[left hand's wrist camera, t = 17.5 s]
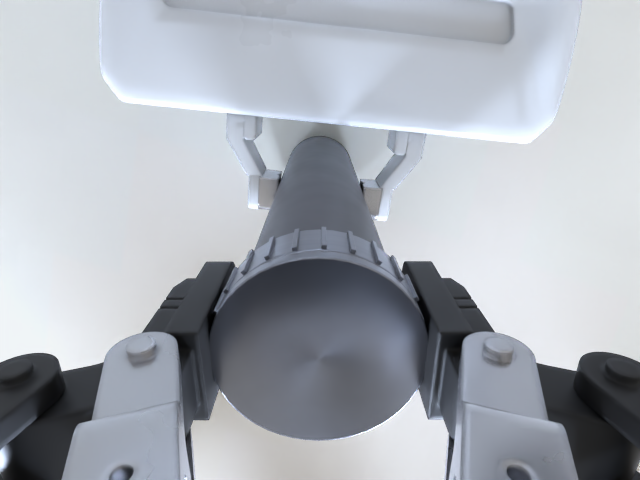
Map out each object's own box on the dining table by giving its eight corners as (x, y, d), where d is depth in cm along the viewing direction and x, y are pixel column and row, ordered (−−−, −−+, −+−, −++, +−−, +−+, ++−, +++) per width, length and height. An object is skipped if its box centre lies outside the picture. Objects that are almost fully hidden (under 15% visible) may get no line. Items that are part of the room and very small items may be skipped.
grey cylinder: (364, 170, 28) (446, 345, 10) (317, 211, 29) (313, 436, 11) (322, 122, 27) (325, 217, 9) (274, 166, 28) (189, 334, 10)
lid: (359, 187, 9) (367, 209, 8) (447, 347, 11) (469, 391, 9) (181, 284, 10) (157, 321, 9) (287, 419, 12) (281, 470, 10)
